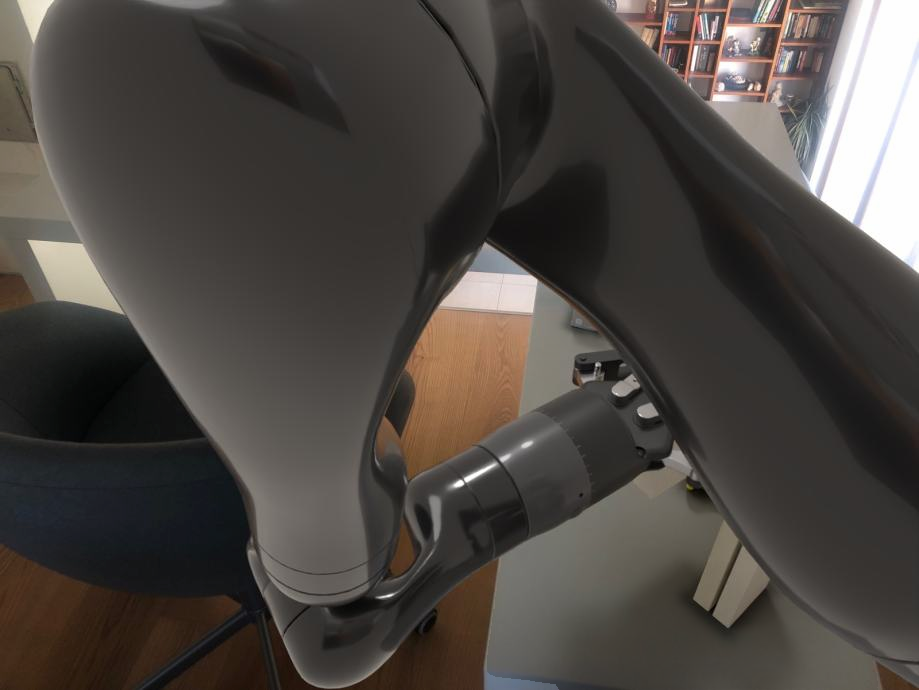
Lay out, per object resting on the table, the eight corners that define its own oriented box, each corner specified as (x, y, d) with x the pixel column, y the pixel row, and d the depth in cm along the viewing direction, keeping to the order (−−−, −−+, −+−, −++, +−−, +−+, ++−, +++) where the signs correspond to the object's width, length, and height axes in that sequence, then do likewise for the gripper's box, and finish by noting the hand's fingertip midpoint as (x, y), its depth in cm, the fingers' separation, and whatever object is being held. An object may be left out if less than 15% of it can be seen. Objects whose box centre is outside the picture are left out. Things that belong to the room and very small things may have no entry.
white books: (766, 586, 62) (811, 498, 54) (727, 628, 59) (769, 542, 51) (731, 560, 64) (769, 470, 56) (692, 599, 61) (726, 511, 53)
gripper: (632, 500, 40) (818, 384, 47) (491, 365, 49) (665, 284, 56) (614, 571, 45) (785, 456, 52) (490, 436, 54) (650, 354, 61)
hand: (722, 367), depth 54 cm, fingers closed on thin white book, 3 cm apart
